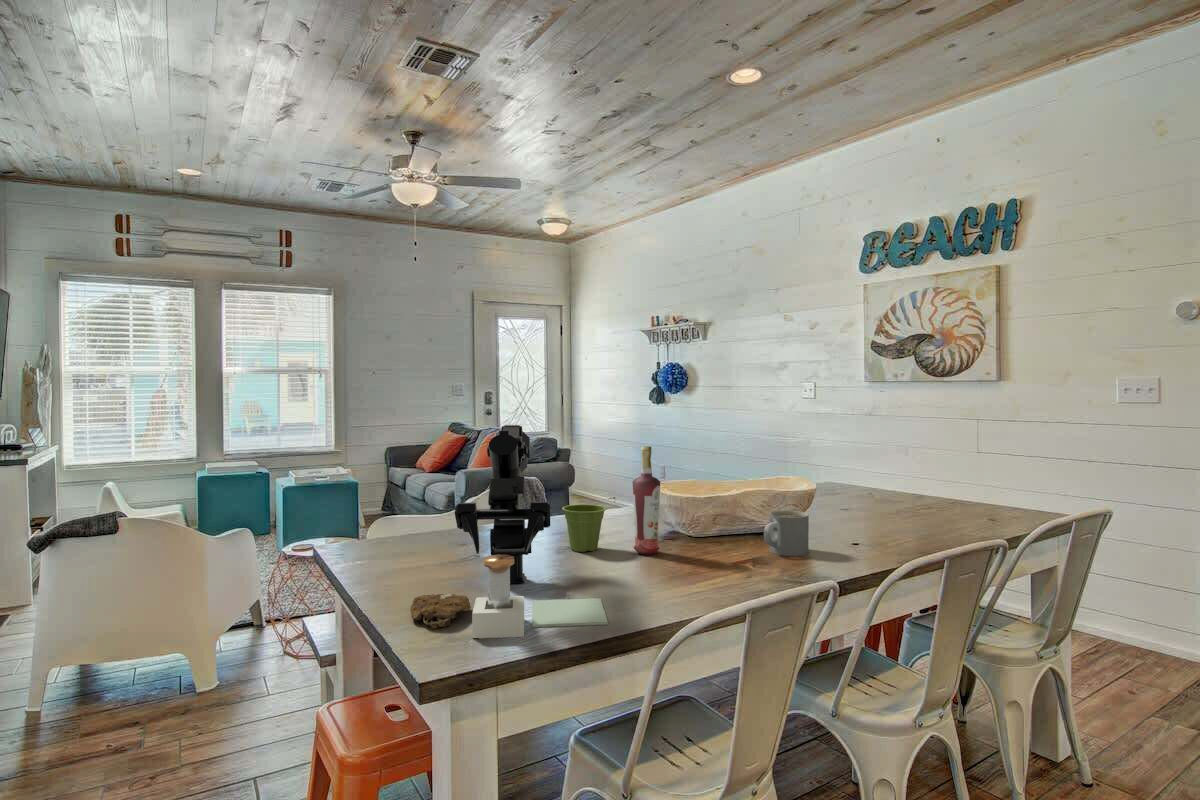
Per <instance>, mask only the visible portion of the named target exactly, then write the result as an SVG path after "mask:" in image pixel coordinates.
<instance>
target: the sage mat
mask: <svg viewBox="0 0 1200 800" xmlns="http://www.w3.org/2000/svg"><path fill="white" fill-rule="evenodd" d="M531 602H532V605H531V606H532V607H531V608H532V609H531V610H532V611H531V614H532V616H531V617H532V618H531V621H532V622H531V623H532V625H531V626H532V628H547V627H549V628H550V627H551V628H552V627H574V626H575V627H577V626H597V625H599V626H601V625H602V626H604V625H609V623H608V622H609V621H608V617H607V614H606V612H605V608H604V606H603V603H602V599H601V598H600V597H599V598H574V599H573V598H572V599H571V598H570V599H545V600H544V599H543V600H541V599H540V600H532V601H531Z"/></svg>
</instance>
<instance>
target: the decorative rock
mask: <svg viewBox="0 0 1200 800" xmlns="http://www.w3.org/2000/svg"><path fill="white" fill-rule="evenodd" d="M471 607H472V606H471V602H470V599H469V597H467V596H466V595H462V594H461V595H460V594H455V593H454V594H453V593H439V594H434V593H433V594H427V595H425V594H424V595H420V596H417V597H414V599H413V601H412V604H411V606H410V618H411V619H413V620H416V621H423V624H425V625H426V626H429V628H430V629H431V628H432V629H440V628H439V627H441V628H445V627H448V626H450V625H451V620H455V618H458V616H459V614H461V612H463V611H464V612H466V611H471Z"/></svg>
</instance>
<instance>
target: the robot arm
mask: <svg viewBox="0 0 1200 800" xmlns="http://www.w3.org/2000/svg"><path fill="white" fill-rule="evenodd" d="M486 452H487V453H486V454H487V458H488V459H490V467H491V469H492V471H491V473H492V474H491V479H489V489H488V491H489V492H488V501H487V503H488V506H489V508H477V503H476V502H457V504H456V505H455V507H454V516H455V517H454V518H455V522H456V528H457V529H459V530H463V532H465V533H468V534H469V536H470V537H471V538H470V539H472V544H473V545H474V550H475V553H476V554H477V555H478V554H479V553H480V535H479V526H478V525H479V523H478V521H479V520H493V526H492V528H490V532H489V541H490V542H489V545H490V556H491V555H510V556H513V557H514V565H512V566H510V584H524V583H525V577H526V575H525V574H526V573H524V569H523V568H524V567H523V566H524V564H523V563H524V560H523V558H524V557H523V556H524V555H525V556H529V554H532V543H533V540H534V539H535V538H536V536H537V535H538V533H539V532H542V531H544V530H545V528H550V527H551V504H550V502H548V500H547V501H546V500H545V501H530V503H529V504H530V507H529V508H521V507H520V506H521V505H520V504H521V494H525V476H524V475H522V473H523V472H524V471H526V469H527V468H528V462H529V461H528V459H531V438H530V436H528V434H526V433H525V432H524V431H523V426H522V425H519V424H515V425H514V424H511V425H510V424H504V425H502V426H501V429H500V430H499V432H498V434H497V435H495V436H493V437H492V438H491V439H490V441H489V442H488V445H487V448H486ZM526 520H527V525H526ZM526 526H527V527H526Z"/></svg>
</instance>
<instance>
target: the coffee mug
mask: <svg viewBox="0 0 1200 800" xmlns="http://www.w3.org/2000/svg"><path fill="white" fill-rule="evenodd" d="M809 523H810V522H809V513H806V512H804V511H799V510H788V509H787V510H785V509H784V510H783V509H782V510H772V511H770V512H769V523H767V524H766V525H765V527H764V530H763V538H764V539H763V540H764V542H765V543H766V544H767V545H768V546H769V552H770V553H772V554H775V555H779V556H783V557H784V556H785V557H801V556H806V555H808V554H809V530H810V529H809V528H810V527H809V526H810V525H809Z"/></svg>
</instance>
